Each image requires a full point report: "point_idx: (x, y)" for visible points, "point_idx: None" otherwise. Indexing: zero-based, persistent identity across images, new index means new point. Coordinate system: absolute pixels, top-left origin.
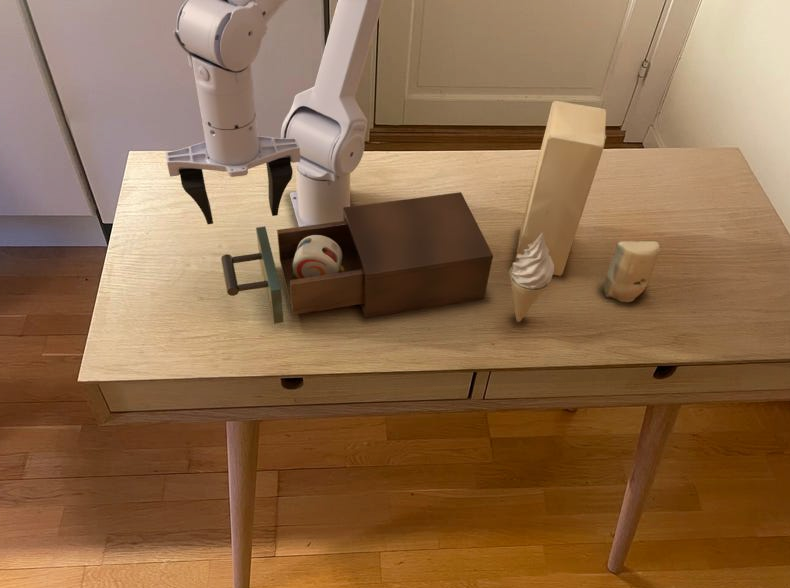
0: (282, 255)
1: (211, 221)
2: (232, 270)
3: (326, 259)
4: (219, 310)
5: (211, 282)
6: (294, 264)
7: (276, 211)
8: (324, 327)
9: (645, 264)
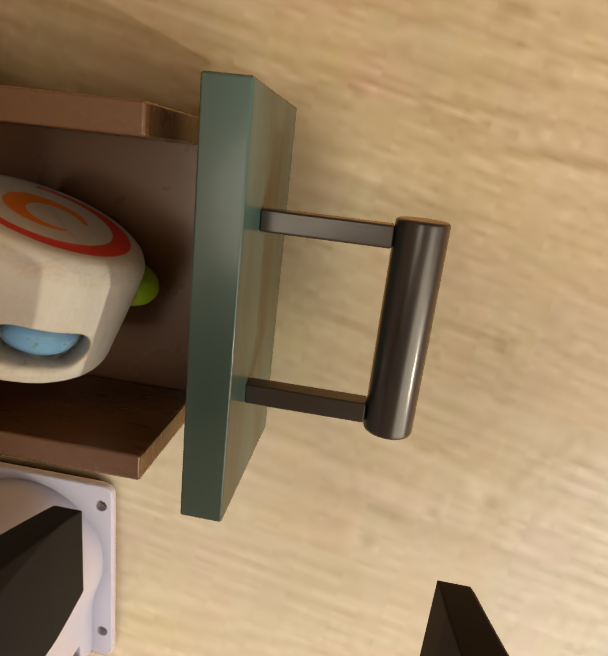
0: (177, 398)
1: (452, 596)
2: (389, 336)
3: None
4: (461, 269)
5: (444, 405)
6: (115, 268)
7: (31, 521)
8: (130, 59)
9: None
